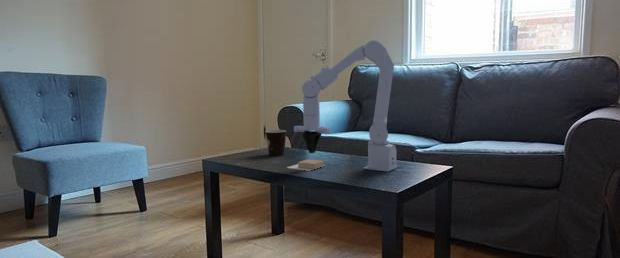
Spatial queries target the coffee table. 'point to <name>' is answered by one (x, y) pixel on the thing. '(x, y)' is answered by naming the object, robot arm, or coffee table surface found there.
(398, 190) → the coffee table surface
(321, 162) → the tile
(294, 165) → the felt mat
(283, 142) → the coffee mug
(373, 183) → the coffee table surface
